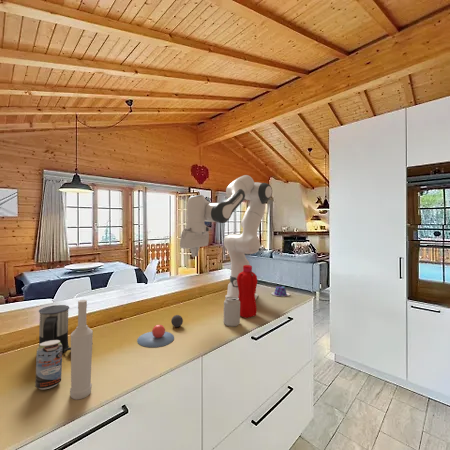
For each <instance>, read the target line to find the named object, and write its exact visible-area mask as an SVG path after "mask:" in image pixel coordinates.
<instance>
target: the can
mask: <svg viewBox="0 0 450 450" xmlns="http://www.w3.org/2000/svg"><path fill="white" fill-rule="evenodd" d="M240 319H241V316H240V301H239V298H238V297H232V296H231V297H225V299H224V301H223V323H224V325H225V326H227V327H232V328H233V327H238V325H240V323H241V321H240Z"/></svg>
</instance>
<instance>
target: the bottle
mask: <svg viewBox="0 0 450 450" xmlns="http://www.w3.org/2000/svg"><path fill="white" fill-rule="evenodd" d="M87 301H88V300H87V299H80V300H78V301H77V326H76V328H75V329H74V330H73V331H72V332H71V334H70V347H71V350H70V382H71V383H70V386H71V387H70V388H69V389H70V390H69V394H70V397H71V399H72V400H82V399H85V398H86V397H88V396H89V395H91V393H92V386H93V384H92V383H91V382H92V381H91V380H92V358H93V344H92V343H93V337H94V335H93V332H94V331H93V329H91V328H90V327H89V325H87V308H88V302H87Z"/></svg>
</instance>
